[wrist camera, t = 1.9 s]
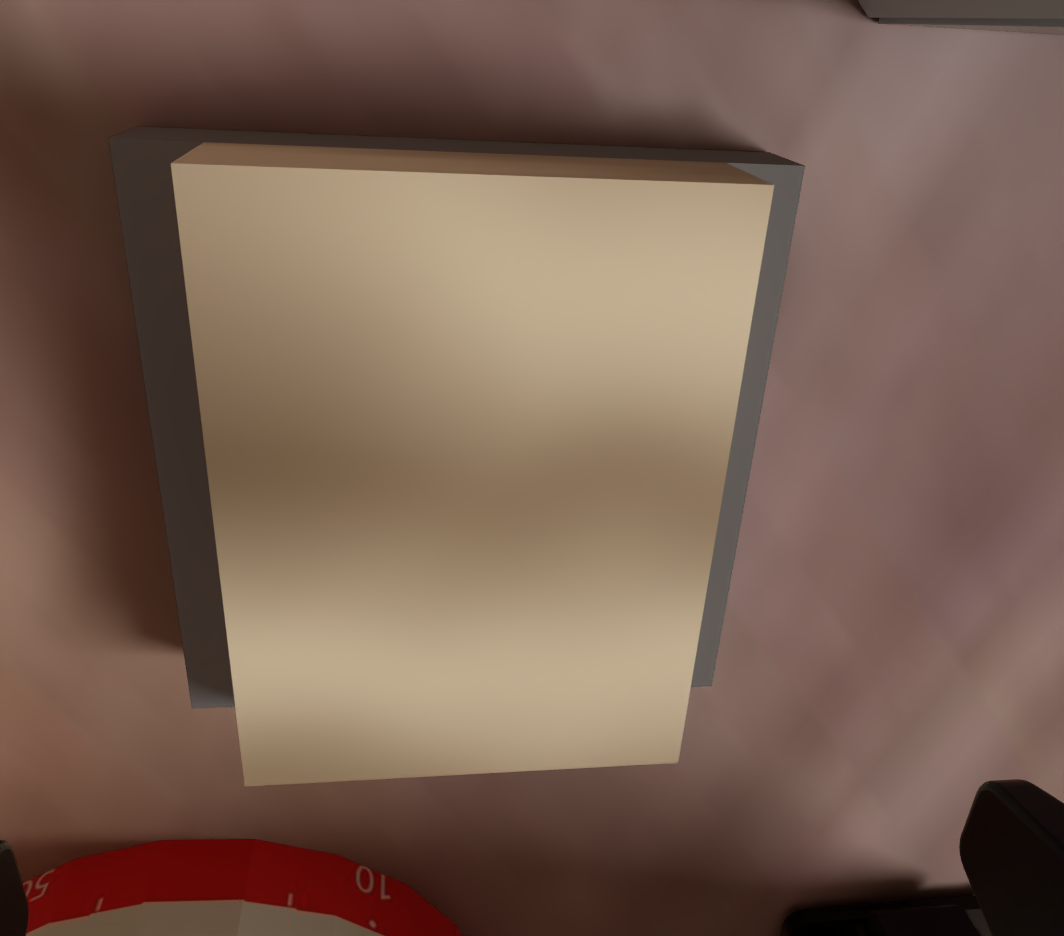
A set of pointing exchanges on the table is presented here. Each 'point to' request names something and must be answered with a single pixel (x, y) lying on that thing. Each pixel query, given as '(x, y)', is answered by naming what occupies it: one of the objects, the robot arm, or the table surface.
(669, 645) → the cover board
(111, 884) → the white ceramic hen
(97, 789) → the table surface
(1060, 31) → the bowl
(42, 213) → the table surface
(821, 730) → the table surface
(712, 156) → the mat
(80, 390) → the table surface
